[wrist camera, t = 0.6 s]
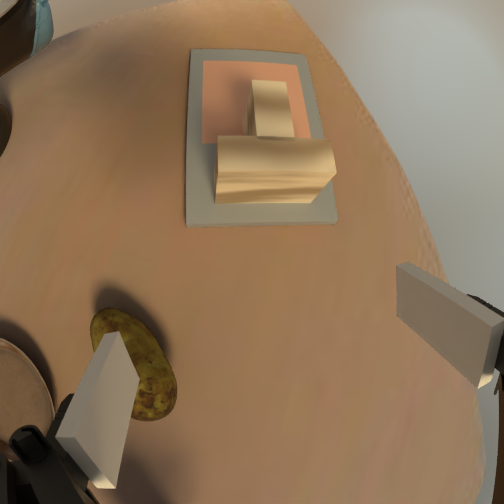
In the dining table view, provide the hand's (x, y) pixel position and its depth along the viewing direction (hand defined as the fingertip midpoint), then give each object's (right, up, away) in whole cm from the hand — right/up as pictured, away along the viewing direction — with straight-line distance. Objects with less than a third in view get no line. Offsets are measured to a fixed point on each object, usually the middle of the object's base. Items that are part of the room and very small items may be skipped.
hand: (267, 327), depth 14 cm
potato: (-14, -9, +21) cm, 27 cm away
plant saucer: (-33, -17, +17) cm, 41 cm away
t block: (0, +15, +27) cm, 31 cm away
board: (0, +21, +30) cm, 37 cm away
